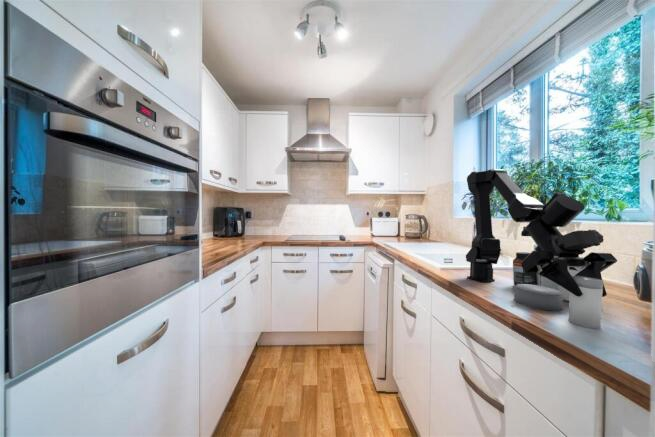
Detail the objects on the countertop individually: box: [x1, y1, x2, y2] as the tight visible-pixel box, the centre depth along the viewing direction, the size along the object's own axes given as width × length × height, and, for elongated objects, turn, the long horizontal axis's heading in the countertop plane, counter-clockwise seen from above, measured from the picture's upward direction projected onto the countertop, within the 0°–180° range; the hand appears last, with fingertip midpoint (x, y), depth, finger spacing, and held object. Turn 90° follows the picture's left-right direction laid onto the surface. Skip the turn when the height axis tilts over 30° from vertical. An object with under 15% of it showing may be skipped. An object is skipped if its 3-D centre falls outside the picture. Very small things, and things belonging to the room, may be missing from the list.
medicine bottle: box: [558, 267, 579, 302], centre depth 72 cm, size 7×7×12 cm
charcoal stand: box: [513, 284, 564, 312], centre depth 68 cm, size 10×10×4 cm
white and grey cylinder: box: [567, 276, 604, 330], centre depth 56 cm, size 5×5×10 cm
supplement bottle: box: [512, 251, 536, 287], centre depth 83 cm, size 6×6×11 cm
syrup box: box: [533, 243, 558, 290], centre depth 79 cm, size 6×6×14 cm
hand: (592, 295), depth 55 cm, fingers closed on white and grey cylinder, 5 cm apart
